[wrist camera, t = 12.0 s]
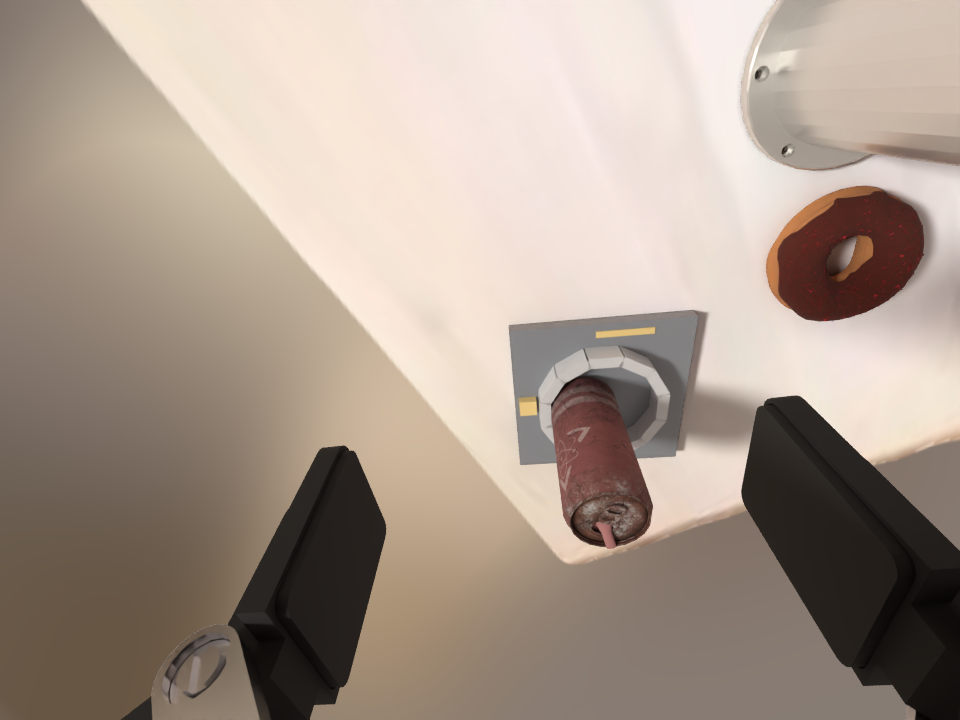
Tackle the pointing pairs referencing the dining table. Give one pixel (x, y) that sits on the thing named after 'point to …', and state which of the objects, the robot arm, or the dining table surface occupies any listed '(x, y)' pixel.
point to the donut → (873, 268)
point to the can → (597, 466)
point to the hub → (605, 375)
